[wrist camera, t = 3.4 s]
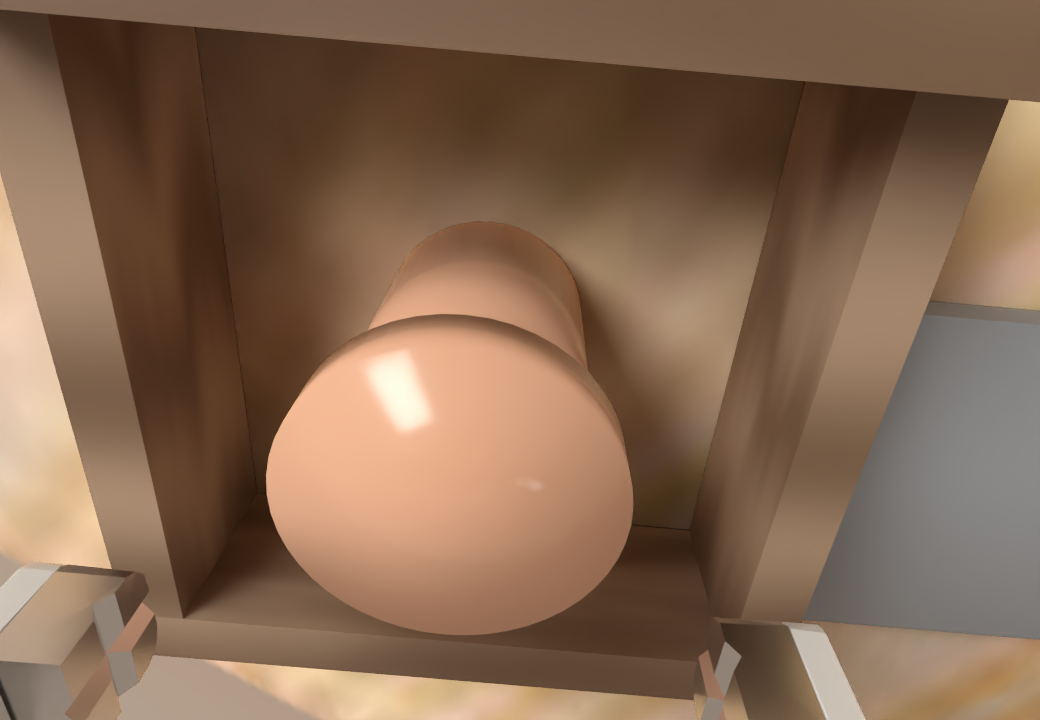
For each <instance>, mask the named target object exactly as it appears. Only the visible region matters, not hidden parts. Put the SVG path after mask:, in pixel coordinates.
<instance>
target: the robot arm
mask: <svg viewBox="0 0 1040 720" xmlns="http://www.w3.org/2000/svg"><path fill="white" fill-rule="evenodd" d="M148 592H149V588H148V585H147V582H146V578H145V575H144V574H142V573H138V572H132V571H123V570H113V569H104V568H95V567H85V566H76V565H61V564H51V563H41V562H31V563H29V564H27V565H25V566H23V567H21V568H19V569H18V570H17V571H16V572H15V573H14V574H13V575H12V576H11V577H10V578H9V579H8V580H7V582H6V583H5V584H4V585H3V586H2V587H1V588H0V720H117V718H118V716H119V715H120V713H121V707H120V700H119V696H120V695H122V694H123V693H125V692H126V691H127V690H129V689H130V688H132V687H133V686H135V685H136V684H138V683H139V682H140V680H141V678H142V677H143V675H144V673H145V672H146V670H147V668H148V666H149V665H150V662H151V659H152V656H153V653H154V650H155V646H156V643H157V627H158V626H157V622H156V617H155V614H154V613H153V612H152V611H151V610H150V609H149V608H148V607H147V606H146V605H145V604H143V603H142V601H143V600H144V598H145V597H146V595H147V594H148ZM705 639H706V643H707V647H708V650H707V651H706V652H704V653H703V654H702V655H700V656H699V657H698V660H697V664H696V668H695V673H694V691H693V694H694V703H695V711H696V716H697V720H866V718H865V716H864V713H863V711H862V709H861V707H860V705H859V703H858V701H857V699H856V696H855V694H854V692H853V690H852V688H851V686H850V684H849V681H848V679H847V677H846V675H845V673H844V671H843V669H842V667H841V664H840V662H839V660H838V658H837V656H836V654H835V652H834V649H833V647H832V645H831V643H830V641H829V639H828V637H827V635H826V632H825V631H824V630H823V629H822V628H821V627H820V626H819V625H818V624H804V623H791V622H782V623H781V622H779V621H766V620H751V619H737V618H722V617H713V618H712V619H711V620H710V621H709V623H708V625H707V629H706V632H705Z"/></svg>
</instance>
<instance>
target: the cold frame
mask: <svg viewBox="0 0 1040 720" xmlns="http://www.w3.org/2000/svg"><path fill="white" fill-rule="evenodd" d="M195 27H203V28H214V29H225V30H237V31H248V32H259V33H270V34H281V35H293V36H304V37H315V38H326V39H338V40H349V41H360V42H371V43H382V44H394V45H405V46H416V47H427V48H438V49H450V50H461V51H472V52H483V53H494V54H506V55H517V56H528V57H539V58H551V59H562V60H573V61H584V62H595V63H607V64H618V65H629V66H640V67H651V68H663V69H674V70H685V71H696V72H708V73H719V74H730V75H741V76H752V77H764V78H775V79H786V80H797V81H805V85H804V89H803V93H802V97H801V101H800V104H799V108H798V112H797V116H796V120H795V124H794V128H793V131H792V135H791V139H790V143H789V147H788V151H787V155H786V158H785V162H784V166H783V170H782V174H781V178H780V182H779V185H778V189H777V193H776V197H775V201H774V205H773V209H772V212H771V216H770V220H769V224H768V228H767V232H766V236H765V239H764V243H763V247H762V251H761V255H760V259H759V263H758V266H757V270H756V274H755V278H754V282H753V286H752V290H751V293H750V297H749V301H748V305H747V309H746V313H745V317H744V320H743V324H742V328H741V332H740V336H739V340H738V344H737V347H736V351H735V355H734V359H733V363H732V367H731V371H730V374H729V378H728V382H727V386H726V390H725V394H724V398H723V401H722V405H721V409H720V413H719V417H718V421H717V425H716V428H715V432H714V436H713V440H712V444H711V448H710V452H709V455H708V459H707V463H706V467H705V471H704V475H703V479H702V482H701V486H700V490H699V494H698V498H697V502H696V506H695V509H694V513H693V517H692V521H691V525H690V529H689V530H680V529H668V528H656V527H644V526H633V525H631V528H630V531H629V534H628V538H627V541H626V544H625V546H624V548H623V550H622V552H621V554H620V556H619V558H618V560H617V561H616V563H615V564H614V566H613V567H612V569H611V570H610V571H609V573H608V574H607V575H606V577H605V578H604V579H603V580H602V581H601V582H600V583H599V584H598V585H597V586H596V587H595V588H594V589H593V590H592V591H591V592H590V593H588V594H587V595H586V596H585V597H583V598H582V599H581V600H580V601H578V602H577V603H575V604H573V605H572V606H570V607H569V608H567V609H566V610H564V611H562V612H560V613H558V614H556V615H554V616H552V617H550V618H548V619H546V620H543V621H540V622H537V623H534V624H532V625H529V626H526V627H522V628H518V629H514V630H509V631H504V632H498V633H491V634H480V635H445V634H437V633H429V632H422V631H417V630H413V629H408V628H404V627H400V626H397V625H394V624H391V623H387V622H384V621H381V620H379V619H377V618H374V617H372V616H370V615H367V614H365V613H363V612H361V611H359V610H357V609H355V608H353V607H351V606H350V605H348V604H346V603H344V602H343V601H341V600H340V599H338V598H337V597H335V596H334V595H332V594H331V593H329V592H328V591H327V590H325V589H324V588H323V587H322V586H321V585H319V584H318V583H317V582H316V581H315V580H313V579H312V578H311V577H310V576H309V575H308V574H307V572H306V571H305V570H304V569H303V568H302V567H301V566H300V565H299V564H298V563H297V561H296V560H295V559H294V557H293V556H292V555H291V553H290V552H289V550H288V549H287V548H286V546H285V544H284V542H283V540H282V539H281V537H280V535H279V533H278V531H277V529H276V526H275V523H274V521H273V518H272V515H271V513H270V508H269V503H268V498H267V494H257V489H256V482H255V474H254V467H253V459H252V452H251V444H250V437H249V429H248V422H247V414H246V407H245V399H244V392H243V385H242V377H241V370H240V362H239V355H238V347H237V340H236V332H235V325H234V317H233V310H232V302H231V295H230V287H229V280H228V272H227V265H226V257H225V250H224V242H223V235H222V227H221V220H220V212H219V205H218V197H217V190H216V182H215V175H214V167H213V160H212V153H211V145H210V138H209V130H208V123H207V115H206V108H205V100H204V93H203V85H202V78H201V70H200V63H199V55H198V48H197V40H196V33H195ZM1009 99H1010V100H1022V101H1033V102H1040V0H0V173H1V177H2V180H3V184H4V187H5V191H6V195H7V198H8V202H9V205H10V209H11V212H12V216H13V219H14V223H15V226H16V230H17V234H18V237H19V241H20V244H21V248H22V251H23V255H24V258H25V262H26V266H27V269H28V273H29V276H30V280H31V283H32V287H33V290H34V294H35V297H36V301H37V305H38V308H39V312H40V315H41V319H42V322H43V326H44V329H45V333H46V337H47V340H48V344H49V347H50V351H51V354H52V358H53V361H54V365H55V369H56V372H57V376H58V379H59V383H60V386H61V390H62V393H63V397H64V400H65V404H66V408H67V411H68V415H69V418H70V422H71V425H72V429H73V432H74V436H75V440H76V443H77V447H78V450H79V454H80V457H81V461H82V464H83V468H84V471H85V475H86V479H87V482H88V486H89V489H90V493H91V496H92V500H93V503H94V507H95V511H96V514H97V518H98V521H99V525H100V528H101V532H102V535H103V539H104V542H105V546H106V550H107V553H108V557H109V560H110V564H111V567H112V569H113V570H123V571H132V572H138V573H142V574H144V575H145V578H146V582H147V585H148V588H149V592H148V594H147V595H146V597H145V598H144V600H143V601H142V603H143V604H145V605H146V606H147V607H148V608H149V609H150V610H151V611H152V612H153V613H154V614H155V617H156V622H157V626H158V627H157V643H156V646H155V650H154V653H153V655H159V656H171V657H184V658H195V659H207V660H219V661H231V662H243V663H255V664H267V665H279V666H291V667H303V668H315V669H327V670H339V671H351V672H363V673H375V674H387V675H399V676H411V677H423V678H435V679H447V680H459V681H471V682H483V683H495V684H507V685H519V686H531V687H543V688H555V689H567V690H579V691H591V692H603V693H615V694H627V695H639V696H651V697H663V698H675V699H687V700H694V694H693V691H694V673H695V668H696V664H697V660H698V657H699V656H700V655H702V654H703V653H704V652H706V651H707V650H708V647H707V643H706V639H705V632H706V629H707V625H708V623H709V621H710V620H711V619H712V618H713V617H722V618H737V619H751V620H766V621H779V622H781V623H782V622H791V623H802V620H803V618H804V615H805V613H806V610H807V608H808V605H809V602H810V600H811V597H812V595H813V592H814V590H815V587H816V585H817V582H818V580H819V577H820V575H821V572H822V570H823V567H824V565H825V562H826V560H827V557H828V555H829V552H830V549H831V547H832V544H833V542H834V539H835V537H836V534H837V532H838V529H839V527H840V524H841V522H842V519H843V517H844V514H845V512H846V509H847V507H848V504H849V502H850V499H851V497H852V494H853V491H854V489H855V486H856V484H857V481H858V479H859V476H860V474H861V471H862V469H863V466H864V464H865V461H866V459H867V456H868V454H869V451H870V449H871V446H872V444H873V441H874V438H875V436H876V433H877V431H878V428H879V426H880V423H881V421H882V418H883V416H884V413H885V411H886V408H887V406H888V403H889V401H890V398H891V396H892V393H893V391H894V388H895V386H896V383H897V380H898V378H899V375H900V373H901V370H902V368H903V365H904V363H905V360H906V358H907V355H908V353H909V350H910V348H911V345H912V343H913V340H914V338H915V335H916V333H917V330H918V327H919V325H920V322H921V320H922V317H923V315H924V312H925V310H926V307H927V305H928V302H929V300H930V297H931V295H932V292H933V290H934V287H935V285H936V282H937V280H938V277H939V274H940V272H941V269H942V267H943V264H944V262H945V259H946V257H947V254H948V252H949V249H950V247H951V244H952V242H953V239H954V237H955V234H956V232H957V229H958V227H959V224H960V222H961V219H962V216H963V214H964V211H965V209H966V206H967V204H968V201H969V199H970V196H971V194H972V191H973V189H974V186H975V184H976V181H977V179H978V176H979V174H980V171H981V169H982V166H983V163H984V161H985V158H986V156H987V153H988V151H989V148H990V146H991V143H992V141H993V138H994V136H995V133H996V131H997V128H998V126H999V123H1000V121H1001V118H1002V116H1003V113H1004V111H1005V108H1006V105H1007V103H1008V100H1009Z"/></svg>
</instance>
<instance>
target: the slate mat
mask: <svg viewBox="0 0 1040 720" xmlns="http://www.w3.org/2000/svg"><path fill="white" fill-rule="evenodd" d="M803 620H813V621H824V622H836V623H848V624H860V625H872V626H884V627H896V628H907V629H919V630H931V631H943V632H955V633H967V634H979V635H991V636H1002V637H1014V638H1026V639H1038V640H1040V311H1035V310H1024V309H1012V308H1001V307H989V306H978V305H967V304H955V303H944V302H932V301H929V302H928V305H927V307H926V310H925V312H924V315H923V317H922V320H921V322H920V325H919V327H918V330H917V333H916V335H915V338H914V340H913V343H912V345H911V348H910V350H909V353H908V355H907V358H906V360H905V363H904V365H903V368H902V370H901V373H900V375H899V378H898V380H897V383H896V386H895V388H894V391H893V393H892V396H891V398H890V401H889V403H888V406H887V408H886V411H885V413H884V416H883V418H882V421H881V423H880V426H879V428H878V431H877V433H876V436H875V438H874V441H873V444H872V446H871V449H870V451H869V454H868V456H867V459H866V461H865V464H864V466H863V469H862V471H861V474H860V476H859V479H858V481H857V484H856V486H855V489H854V491H853V494H852V497H851V499H850V502H849V504H848V507H847V509H846V512H845V514H844V517H843V519H842V522H841V524H840V527H839V529H838V532H837V534H836V537H835V539H834V542H833V544H832V547H831V549H830V552H829V555H828V557H827V560H826V562H825V565H824V567H823V570H822V572H821V575H820V577H819V580H818V582H817V585H816V587H815V590H814V592H813V595H812V597H811V600H810V602H809V605H808V608H807V610H806V613H805V615H804V618H803Z"/></svg>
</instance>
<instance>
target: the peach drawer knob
mask: <svg viewBox="0 0 1040 720" xmlns="http://www.w3.org/2000/svg"><path fill="white" fill-rule="evenodd" d="M266 488H267V498H268V503H269V508H270V513H271V515H272V518H273V521H274V523H275V526H276V529H277V531H278V533H279V535H280V537H281V539H282V540H283V542H284V544H285V546H286V548H287V549H288V550H289V552H290V553H291V555H292V556H293V557H294V559H295V560H296V561H297V563H298V564H299V565H300V566H301V567H302V568H303V569H304V570H305V571H306V572H307V574H308V575H309V576H310V577H311V578H312V579H313V580H315V581H316V582H317V583H318V584H319V585H321V586H322V587H323V588H324V589H325V590H327V591H328V592H329V593H331V594H332V595H334V596H335V597H337V598H338V599H340V600H341V601H343V602H344V603H346V604H348V605H350V606H351V607H353V608H355V609H357V610H359V611H361V612H363V613H365V614H367V615H370V616H372V617H374V618H377V619H379V620H381V621H384V622H387V623H391V624H394V625H397V626H400V627H404V628H408V629H413V630H417V631H422V632H429V633H437V634H445V635H480V634H491V633H498V632H504V631H509V630H514V629H518V628H522V627H526V626H529V625H532V624H534V623H537V622H540V621H543V620H546V619H548V618H550V617H552V616H554V615H556V614H558V613H560V612H562V611H564V610H566V609H567V608H569V607H570V606H572V605H573V604H575V603H577V602H578V601H580V600H581V599H582V598H583V597H585V596H586V595H587V594H588V593H590V592H591V591H592V590H593V589H594V588H595V587H596V586H597V585H598V584H599V583H600V582H601V581H602V580H603V579H604V578H605V577H606V575H607V574H608V573H609V571H610V570H611V569H612V567H613V566H614V564H615V563H616V561H617V560H618V558H619V556H620V554H621V552H622V550H623V548H624V546H625V544H626V541H627V538H628V534H629V531H630V528H631V523H632V515H633V487H632V481H631V476H630V470H629V465H628V459H627V454H626V448H625V443H624V438H623V434H622V429H621V425H620V423H619V420H618V418H617V415H616V413H615V410H614V408H613V406H612V404H611V403H610V401H609V399H608V397H607V396H606V394H605V392H604V391H603V389H602V388H601V387H600V385H599V384H598V383H597V382H596V380H595V379H594V378H593V376H592V375H591V374H590V373H589V372H588V367H587V358H586V350H585V341H584V333H583V325H582V316H581V308H580V300H579V295H578V291H577V287H576V285H575V282H574V279H573V277H572V275H571V273H570V271H569V270H568V268H567V266H566V265H565V263H564V262H563V261H562V259H561V258H560V257H559V256H558V255H557V254H556V253H555V252H554V251H553V250H552V249H551V248H550V247H549V246H548V245H547V244H545V243H544V242H543V241H542V240H540V239H539V238H537V237H535V236H533V235H532V234H530V233H528V232H526V231H523V230H521V229H519V228H516V227H513V226H509V225H506V224H500V223H494V222H471V223H463V224H459V225H455V226H451V227H449V228H446V229H443V230H441V231H439V232H437V233H435V234H433V235H432V236H430V237H428V238H427V239H426V240H424V241H423V242H421V243H420V244H419V245H418V246H417V247H416V248H415V249H414V250H413V251H412V252H411V253H410V254H409V256H408V257H407V258H406V260H405V261H404V262H403V264H402V266H401V268H400V269H399V271H398V273H397V275H396V277H395V279H394V281H393V283H392V285H391V286H390V288H389V290H388V292H387V294H386V296H385V298H384V300H383V302H382V303H381V305H380V307H379V309H378V311H377V313H376V315H375V317H374V319H373V320H372V322H371V324H370V326H369V328H368V330H367V331H366V332H364V333H362V334H360V335H358V336H357V337H355V338H353V339H351V340H349V341H348V342H347V343H345V344H344V345H342V346H341V347H340V348H338V349H337V350H335V351H334V352H333V353H332V354H331V355H330V356H329V357H328V358H327V359H326V360H325V361H324V362H323V363H322V364H321V365H320V366H319V367H318V368H317V369H316V371H315V372H314V373H313V375H312V376H311V377H310V379H309V380H308V381H307V383H306V384H305V386H304V388H303V389H302V391H301V393H300V394H299V396H298V397H297V399H296V401H295V402H294V404H293V406H292V407H291V409H290V410H289V412H288V414H287V415H286V417H285V419H284V420H283V422H282V424H281V426H280V428H279V430H278V432H277V434H276V436H275V438H274V441H273V444H272V447H271V450H270V453H269V457H268V464H267V472H266Z"/></svg>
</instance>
